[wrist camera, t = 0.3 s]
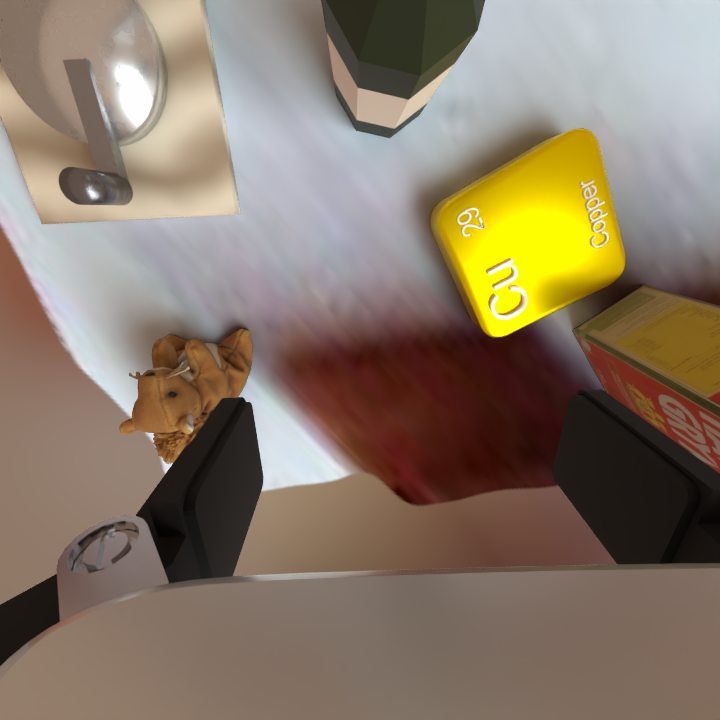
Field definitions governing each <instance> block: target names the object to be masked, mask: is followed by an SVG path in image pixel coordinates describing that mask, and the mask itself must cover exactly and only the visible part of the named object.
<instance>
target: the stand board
mask: <svg viewBox="0 0 720 720" xmlns="http://www.w3.org/2000/svg"><path fill="white" fill-rule="evenodd" d="M136 1H137V2H138V3H139V5H140V6H141V7H142V9H143V10H144V11H145V13H146V14H147V16H148V18H149V19H150V21H151V22H152V24H153V26H154V28H155V30H156V32H157V35H158V37H159V40H160V42H161V45H162V48H163V52H164V55H165V59H166V65H167V72H168V93H167V99H166V104H165V107H164V110H163V113H162V115H161V118H160V120H159V122H158V123H157V125H156V126H155V127H154V129H153V130H152V131H151V132H150V133H149V134H148V135H147V136H146V137H144V138H143V139H142V140H140V141H138V142H136V143H134V144H131V145H127V146H122V147H120V151H121V155H122V158H123V162H124V165H125V169H126V173H127V176H128V180H129V183H130V184H131V187H132V190H133V197H132V200H131V201H130V203H128V204H127V205H123V206H121V205H78V204H75V203H73V202H71V201H70V200H69V199H67V198H66V197H65V195H64V194H63V193H62V191H61V189H60V186H59V175H60V172H61V171H62V170H63V169H64V168H67V167H77V168H84V169H91V170H96V167H95V164H94V160H93V157H92V154H91V151H90V147H89V144H88V143H87V142H83V141H80V140H76V139H73V138H71V137H69V136H66V135H64V134H62V133H60V132H59V131H57V130H55V129H54V128H52V127H51V126H49V125H48V124H47V123H45V122H44V121H43V120H42V119H41V118H39V117H38V116H37V115H36V114H35V113H34V112H33V111H32V110H31V109H30V108H29V107H28V106H27V105H26V103H25V102H24V101H23V100H22V98H21V97H20V96H19V94H18V93H17V92H16V90H15V88H14V87H13V85H12V84H11V82H10V80H9V78H8V77H7V75H6V73H5V71H4V69H3V66H2V64H1V62H0V116H1V119H2V122H3V124H4V127H5V129H6V132H7V135H8V137H9V140H10V142H11V145H12V148H13V150H14V153H15V155H16V158H17V161H18V163H19V166H20V168H21V171H22V174H23V176H24V179H25V181H26V184H27V187H28V189H29V192H30V194H31V197H32V200H33V202H34V205H35V207H36V210H37V213H38V215H39V218H40V221H41V223H42V224H56V223H76V222H95V221H114V220H134V219H153V218H172V217H192V216H211V215H231V214H241V212H240V206H239V200H238V194H237V188H236V182H235V176H234V171H233V165H232V159H231V153H230V147H229V141H228V135H227V129H226V123H225V117H224V112H223V106H222V100H221V94H220V88H219V82H218V76H217V70H216V64H215V58H214V53H213V47H212V41H211V35H210V29H209V23H208V17H207V11H206V5H205V0H136Z"/></svg>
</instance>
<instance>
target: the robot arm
mask: <svg viewBox="0 0 720 720" xmlns="http://www.w3.org/2000/svg"><path fill="white" fill-rule="evenodd" d="M552 472H553V477H554V480H555V481H556V483H557V484H558V485H559V487H560V488H561V489H562V491H563V492H564V493H565V495H566V496H567V497H568V499H569V500H570V501H571V502H572V504H573V505H574V507H575V508H576V510H577V511H578V512H579V514H580V515H581V516H582V518H583V519H584V520H585V522H586V523H587V524H588V526H589V527H590V528H591V530H592V531H593V532H594V534H595V535H596V536H597V538H598V539H599V540H600V541H601V543H602V544H603V546H604V547H605V548H606V550H607V551H608V552H609V554H610V555H611V556H612V558H613V559H614V560H615V562H616V563H617V564H618V565H567V566H530V567H529V566H528V567H527V566H526V567H490V568H489V567H485V568H451V569H450V568H449V569H413V570H412V569H411V570H382V571H380V570H379V571H350V572H349V571H347V572H317V573H292V574H272V575H251V576H233V573H234V570H235V567H236V564H237V561H238V558H239V555H240V552H241V549H242V546H243V543H244V540H245V537H246V534H247V531H248V528H249V525H250V522H251V519H252V516H253V514H254V511H255V507H256V504H257V501H258V499H259V496H260V493H261V490H262V486H263V472H262V466H261V459H260V453H259V447H258V440H257V434H256V428H255V421H254V415H253V409H252V404H251V403H250V402H246V401H245V399H244V398H243V397H236V398H222V399H221V400H220V402H219V403H218V405H217V406H216V407H215V409H214V410H213V412H212V413H211V414H210V416H209V417H208V419H207V420H206V421H205V423H204V424H203V426H202V427H201V428H200V430H199V431H198V433H197V434H196V435H195V437H194V438H193V440H192V441H191V442H190V444H188V445H187V446H186V447H185V448H184V449H183V451H182V452H181V453H180V455H179V456H178V458H177V459H176V460H175V462H174V463H173V464H172V466H171V467H170V469H169V470H168V471H167V473H166V474H165V476H164V477H163V478H162V480H161V481H160V483H159V484H158V485H157V487H156V488H155V489H154V491H153V492H152V494H151V495H150V496H149V498H148V499H147V501H146V502H145V503H144V505H143V506H142V507H141V509H140V510H139V512H138V513H137V514H136V516H133V515H123V516H118V517H113V518H110V519H107V520H105V521H102V522H99V523H98V524H96V525H94V526H92V527H90V528H88V529H87V530H85V531H84V532H83V533H81V534H80V535H79V536H77V537H76V538H75V539H74V540H73V541H72V542H71V543H70V544H69V545H68V546H67V547H66V548H65V549H64V551H63V553H62V555H61V556H60V558H59V560H58V564H57V574H56V575H54V576H52V577H51V578H49V579H47V580H45V581H43V582H41V583H39V584H38V585H36V586H34V587H32V588H30V589H28V590H27V591H25V592H23V593H21V594H19V595H17V596H16V597H14V598H12V599H10V600H8V601H6V602H5V603H3V604H1V605H0V720H720V473H718V472H717V471H716V470H714V469H713V468H711V467H710V466H709V465H707V464H706V463H704V462H703V461H702V460H700V459H699V458H697V457H696V456H695V455H693V454H692V453H690V452H689V451H688V450H686V449H685V448H683V447H682V446H681V445H679V444H678V443H676V442H675V441H674V440H672V439H671V438H669V437H668V436H667V435H665V434H664V433H662V432H661V431H660V430H658V429H657V428H655V427H654V426H653V425H651V424H650V423H648V422H647V421H646V420H644V419H643V418H641V417H640V416H639V415H637V414H636V413H634V412H633V411H632V410H630V409H629V408H627V407H626V406H625V405H623V404H622V403H620V402H619V401H618V400H616V399H615V398H613V397H612V396H611V395H609V394H608V393H606V392H605V391H603V390H580V391H578V392H577V393H576V394H575V395H573V396H572V397H571V398H570V401H569V405H568V409H567V413H566V417H565V421H564V425H563V429H562V433H561V437H560V441H559V445H558V449H557V453H556V457H555V461H554V465H553V470H552Z"/></svg>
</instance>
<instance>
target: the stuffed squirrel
mask: <svg viewBox="0 0 720 720" xmlns="http://www.w3.org/2000/svg"><path fill="white" fill-rule="evenodd" d="M252 352H253V351H252V339H251V334H250V332H249V331H248V330H245V329H239V330H237V331H236V332H234V333H233V334H231V335H230V336H229V337H228V338H226V339H225V340H224V341H223V342H222V343H221V344H219V345H217V344H214V343H204V342H202V341H200V340H199V339H192V340H190V341H186V340H184V339H182V338H179V337H177V336H174V335H171V334H169V335H167V336H166V337H165V338H164V339H159V340H158V341H157V342H156V343H155V344H154V346H153V349H152V361H153V368H154V369H152V370H148V371H146V372H145V373H144V374H143V375H140V373H139V372H136V376H133V375H132V374H131V373H129V376H130V377H133V378H136V379H138V399H137V401H136V402H135V405H134V408H133V412H132V418H131V419H128V420H126V421H125V422H123V423H122V424H121V425H120V427H119V429H120V432H121V433H122V434H129V433H132V432H134V431H136V430H140V431H142V432H148V433H154V436H155V437H154V438H153V440H155V442H154V443H153V444H155V446H156V449H157V451H158V456H162V458H164V459H163V460H164V461H165V462H166V463H167V464H169V463H170V464H171V463H174V462H175V460H176V459H177V458H178V456H179V455H180V453H181V452H182V451H183V449H184V448H185V447H186V446H187V445H188V444H190V442H191V441H192V440H193V438H194V437H195V435H196V434H197V433H198V431H199V430H200V428H201V427H202V426H203V424H204V423H205V421H206V420H207V419H208V417H209V416H210V414H211V413H212V412H213V410H214V409H215V407H216V406H217V405H218V403H219V402H220V400H221V399H222V398H236V397H238V396H239V395H240V393H241V392H242V390H243V388H244V386H245V384H246V381H247V378H248V376H249V374H250V371H251V365H252Z"/></svg>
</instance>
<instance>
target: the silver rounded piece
mask: <svg viewBox="0 0 720 720" xmlns="http://www.w3.org/2000/svg"><path fill="white" fill-rule="evenodd" d="M0 62H1V64H2V66H3V69H4V71H5V73H6V75H7V77H8V78H9V80H10V82H11V84H12V85H13V87H14V88H15V90H16V92H17V93H18V94H19V96H20V97H21V98H22V100H23V101H24V102H25V103H26V105H27V106H28V107H29V108H30V109H31V110H32V111H33V112H34V113H35V114H36V115H37V116H38V117H39V118H41V119H42V120H43V121H44V122H45V123H47V124H48V125H49V126H51V127H52V128H54V129H55V130H57V131H59V132H60V133H62V134H64V135H66V136H69V137H71V138H73V139H76V140H80V141H83V142H87V143H88V144H89V147H90V151H91V154H92V157H93V160H94V164H95V167H96V170H91V169H84V168H77V167H67V168H64V169H63V170H62V171H61V172H60V175H59V186H60V189H61V191H62V193H63V194H64V195H65V197H66V198H67V199H69V200H70V201H71V202H73V203H75V204H78V205H121V206H123V205H127V204H128V203H130V201H131V200H132V197H133V190H132V187H131V184H130V183H129V180H128V176H127V173H126V169H125V165H124V162H123V158H122V155H121V151H120V147H122V146H127V145H131V144H134V143H136V142H138V141H140V140H142V139H143V138H144V137H146V136H147V135H148V134H149V133H150V132H151V131H152V130H153V129H154V127H155V126H156V125H157V123H158V122H159V120H160V118H161V115H162V113H163V110H164V107H165V104H166V99H167V93H168V72H167V65H166V59H165V55H164V52H163V48H162V45H161V42H160V40H159V37H158V35H157V32H156V30H155V28H154V26H153V24H152V22H151V21H150V19H149V18H148V16H147V14H146V13H145V11H144V10H143V9H142V7H141V6H140V5H139V3H138V2H137V1H136V0H0Z"/></svg>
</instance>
